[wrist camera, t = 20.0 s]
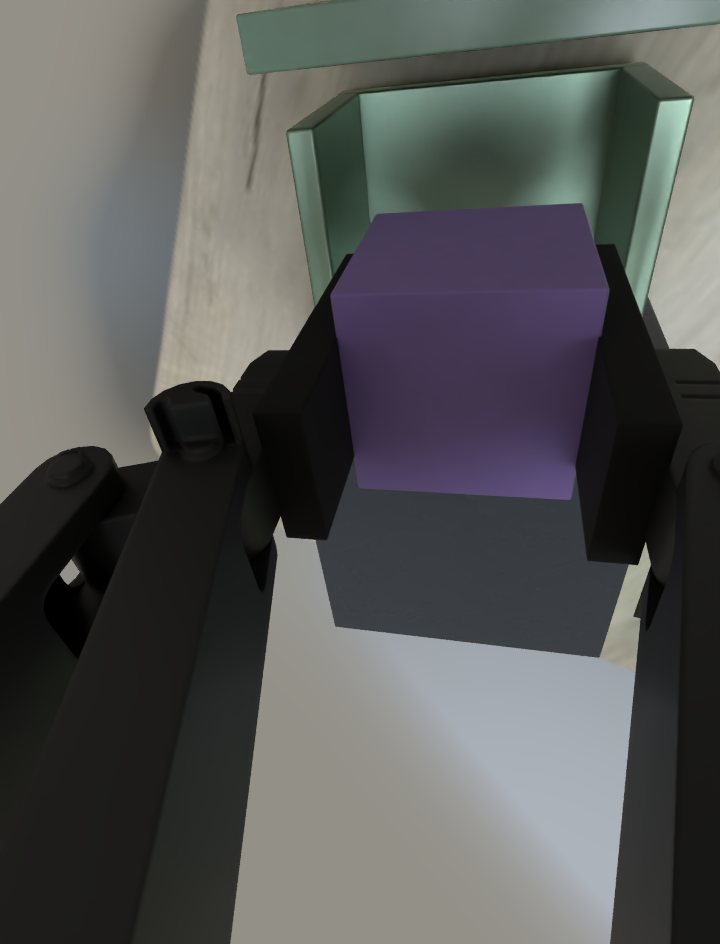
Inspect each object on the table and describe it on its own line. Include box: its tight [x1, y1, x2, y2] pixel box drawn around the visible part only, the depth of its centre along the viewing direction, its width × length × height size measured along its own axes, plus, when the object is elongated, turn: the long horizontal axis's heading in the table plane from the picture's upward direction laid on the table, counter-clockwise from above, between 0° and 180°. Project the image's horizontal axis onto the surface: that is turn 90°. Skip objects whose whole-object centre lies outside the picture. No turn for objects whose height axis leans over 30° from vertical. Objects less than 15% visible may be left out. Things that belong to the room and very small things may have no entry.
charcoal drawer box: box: [316, 297, 669, 657], centre depth 26 cm, size 15×13×9 cm
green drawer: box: [237, 0, 720, 318], centre depth 17 cm, size 20×11×7 cm, turn 6°
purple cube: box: [330, 203, 610, 500], centre depth 12 cm, size 4×4×4 cm
